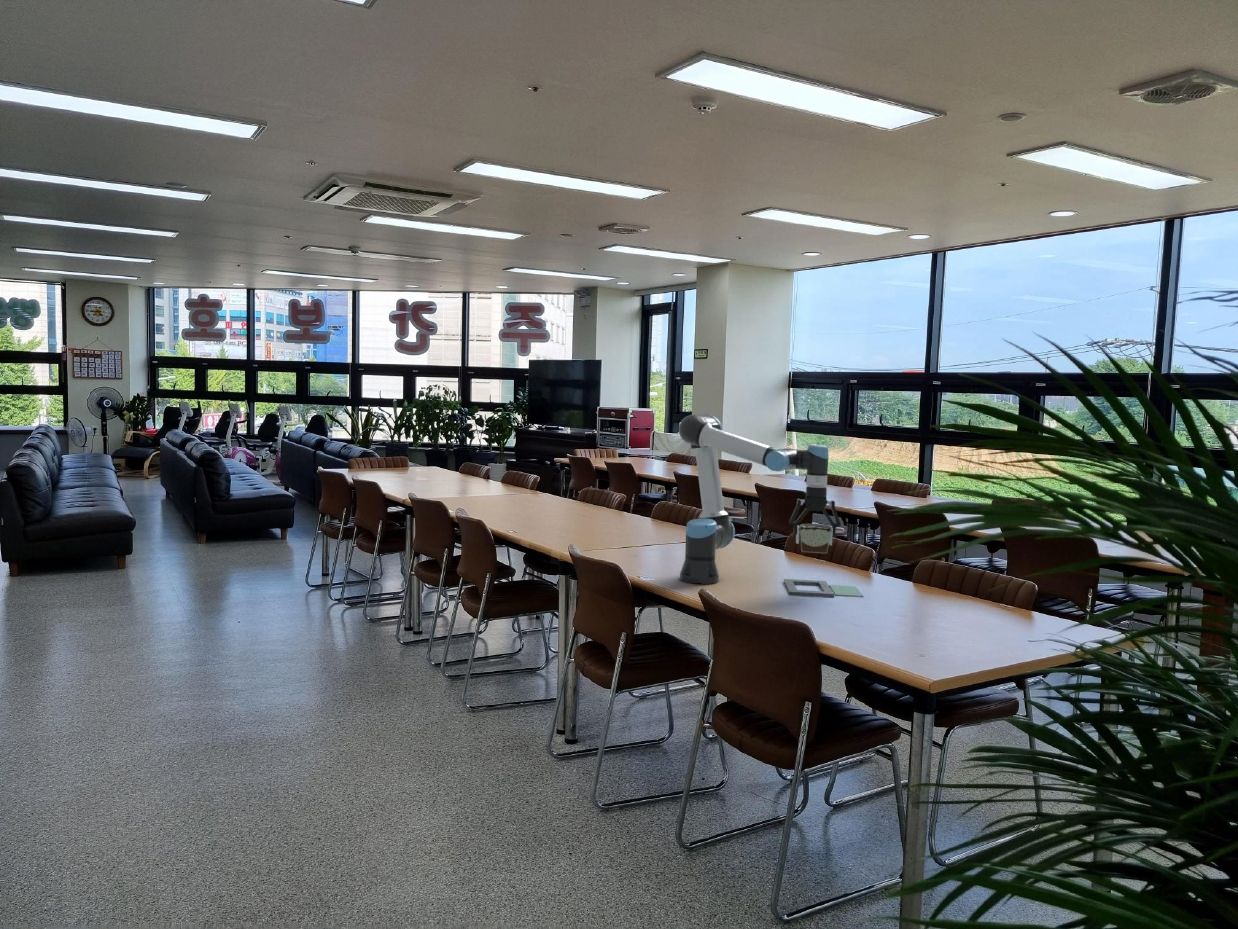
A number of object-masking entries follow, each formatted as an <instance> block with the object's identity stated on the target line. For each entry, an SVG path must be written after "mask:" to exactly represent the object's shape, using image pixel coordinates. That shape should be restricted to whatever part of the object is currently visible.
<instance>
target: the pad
mask: <svg viewBox="0 0 1238 929" xmlns="http://www.w3.org/2000/svg"><path fill="white" fill-rule="evenodd" d="M828 586H830V588H831V590H832V591H833V593H834V596H836V595H838V596H839V597H852V596H864V595H863V593H862V592H861V590H859V588H857V586H855V585H840V584H839V585H838V584H837V585H836V584H828Z"/></svg>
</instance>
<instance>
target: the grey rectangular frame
mask: <svg viewBox="0 0 1238 929" xmlns="http://www.w3.org/2000/svg"><path fill="white" fill-rule="evenodd" d="M783 584H784V586H785V588H786V590H787V592H788V594H789V596H803V597H819V596H824V597H825V598H835V594H834V592H833V591H832V589H831V588H830V587H829V584H828V583H827V581H826V580H810V579H809V580H808V579H796V578H795V579H793V578H792V579H791V578H783ZM797 584H799V585H800V584H801V585H800V586H815V585H816V586H819V588H820V590H804V589H803V590H802V589H797V587H796V585H797ZM799 585H798V586H799Z"/></svg>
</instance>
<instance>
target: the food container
mask: <svg viewBox="0 0 1238 929" xmlns="http://www.w3.org/2000/svg"><path fill="white" fill-rule="evenodd" d="M831 527H832V525H826V524H819V523H802V524H799V530H798V531H799V537H800V548H801V553H814V554H816V553H817V554H828V550H829V546H830V545H829V539H830V532H832V528H831Z"/></svg>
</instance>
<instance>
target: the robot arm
mask: <svg viewBox="0 0 1238 929" xmlns="http://www.w3.org/2000/svg"><path fill="white" fill-rule="evenodd" d="M678 433H679V436H680V438H681V440H683V442H685V443H687V444H690V450H691V451H692V452H694V454H695V460H696V461H695V462H696V468H697V469H696V470H697V475H698V476H697V477H698V484H699V493H700V500H701V509H702V513H701V514H700V515H699V518H694V519H690V520H689V521H687V523H686V528H685V550H684V554H685V556H684V562H683V564H682V567H681V570H680V572H679V580H680V581H682V580H683V581H682V582H684V581H687V582H686V583H688V582H691V583H690V584H695V583H701V584H700V585H711V584H712V585H713V584H717V583H719V582H720V581H719V579H720V574H719V571H718V568H717V564H716V550H718V549H723V548H726V547H727V546H728V545H730V544H731V543H732V542H733V540H734V538H735V534H736V529H735V526H734V524H733V522H731V520H730V516H729V513H728V512H727V511H726V510H725V507H724V500H723V492H722V491H723V490H722V483H721V482H722V481H721V475H720V466H719V458H718V451H720V452H723V453H725V454H728V455H730V456H731V455H732V456H734V457H737V458H741V459H744V460H747V461H749V462H753V463H756V464H757V465H762V466H764V467H767V468H768V470H770V471H772V472H782V471H783V472H784V471H786V470H803V471H805V470H806V488H805V497H804V499H800V498H797V499H796V505H795V508H794V510H793V512H792V514H791V516H790V518H789V521H788V523H789V525H791V526H793V535H795V536H796V537H795V543H796V544H798V545H799V544H800V530H799V527H800V523H801V522H802V520H803V519H804V518H805V517H806V516H807V514H808V513H809V512H810V511H811V512H822V513H823V515H824V517H826V520H827V521H828V522H829V524H830V526H831V528H832V532H830V539H829V545H828V546H832V545H833V537H835V536H836V532H837V531H836V529H837V527H838V528H839V527H841V526H842V524H841V521H840V518H839V515H838V513H837V509H836V501H835V500H832V499H831V500H827V491H828V490H827V486H828V472H829V471H828V469H829V447H828V446H827V445H823V444H810V445H808V447H807V449H798V448H785V447H784V448H776V447H773V446H770V445H766V444H765V443H761V442H758V441H755V440H752V439H749V438H746V437H743V436H740V435H738V434H737V435H736V434H733V433H730V432H728V431H724V430H723V426H722V423H721V421H720V420H719V419H718V418H717V417H716V416H714V415H711V414H706V413H705V414H689V415H686V416H685V417H684V418H683V419H681V421H680V423H679V425H678ZM804 504H805V508H804V510H803V511H802V512H801V513H800V514H799V516H798V517H797V515H798V513H799V511H800V508H801V506H802V505H804ZM827 505H828V506H829V507H830V509H831V512H832V515H833V518H834V520H835V521H833V519H832V518H831V516H830V514H829V513H828V511H827V510H826V508H825V507H826V506H827ZM796 517H797V519H796ZM798 530H799V531H798Z"/></svg>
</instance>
